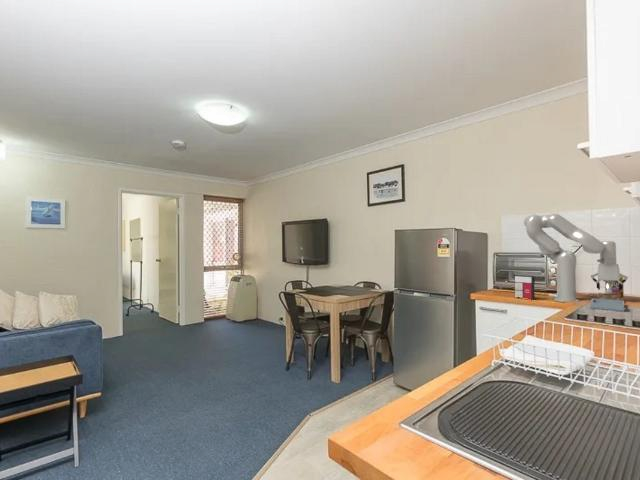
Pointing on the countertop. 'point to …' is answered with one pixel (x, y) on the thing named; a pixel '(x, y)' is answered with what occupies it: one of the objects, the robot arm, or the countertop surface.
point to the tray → (607, 304)
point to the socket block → (609, 296)
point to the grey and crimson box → (524, 286)
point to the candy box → (617, 288)
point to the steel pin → (608, 287)
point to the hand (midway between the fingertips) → (609, 290)
